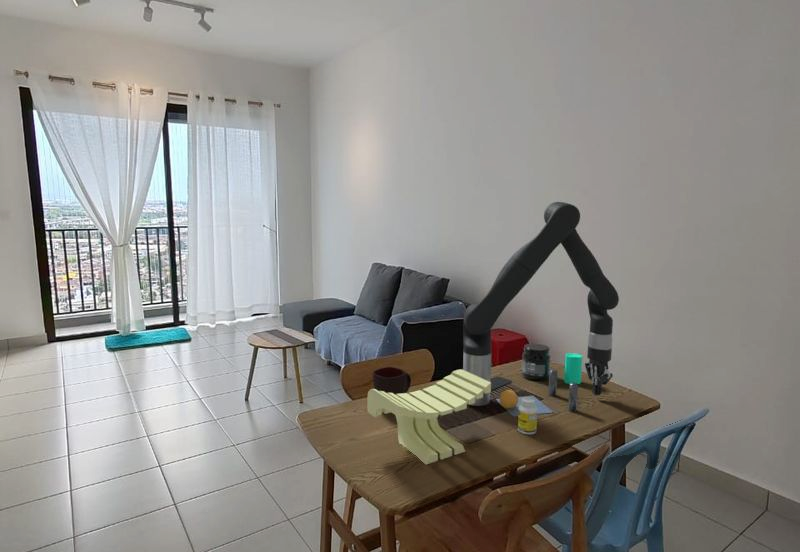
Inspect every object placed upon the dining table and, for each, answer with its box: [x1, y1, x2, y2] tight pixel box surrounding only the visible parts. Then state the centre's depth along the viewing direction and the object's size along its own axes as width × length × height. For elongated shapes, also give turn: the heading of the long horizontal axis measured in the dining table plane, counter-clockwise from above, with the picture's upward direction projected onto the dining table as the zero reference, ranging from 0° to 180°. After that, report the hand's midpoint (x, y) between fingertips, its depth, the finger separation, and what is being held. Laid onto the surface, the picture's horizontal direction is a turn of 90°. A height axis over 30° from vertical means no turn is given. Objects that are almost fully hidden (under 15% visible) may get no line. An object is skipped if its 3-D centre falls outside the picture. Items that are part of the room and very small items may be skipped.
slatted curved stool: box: [366, 368, 492, 465], centre depth 135 cm, size 30×16×18 cm, turn 122°
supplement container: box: [521, 343, 552, 382], centre depth 190 cm, size 10×10×12 cm
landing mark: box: [495, 395, 554, 417], centre depth 163 cm, size 14×14×1 cm
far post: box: [548, 368, 558, 398], centre depth 172 cm, size 3×3×9 cm
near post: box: [567, 382, 579, 413], centre depth 159 cm, size 3×3×9 cm
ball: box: [498, 389, 519, 409], centre depth 161 cm, size 6×6×6 cm
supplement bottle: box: [517, 396, 538, 435], centre depth 144 cm, size 5×5×10 cm
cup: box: [372, 366, 412, 395], centre depth 162 cm, size 10×14×12 cm
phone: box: [490, 376, 513, 392], centre depth 183 cm, size 7×1×15 cm
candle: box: [563, 352, 583, 385], centre depth 184 cm, size 6×6×12 cm
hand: (596, 394), depth 168 cm, fingers closed
